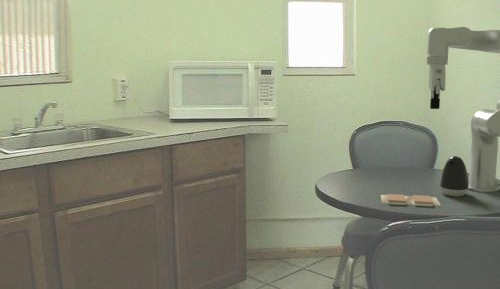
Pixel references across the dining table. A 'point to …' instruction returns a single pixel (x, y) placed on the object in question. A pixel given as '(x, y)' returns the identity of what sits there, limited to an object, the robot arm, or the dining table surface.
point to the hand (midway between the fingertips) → (434, 108)
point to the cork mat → (410, 201)
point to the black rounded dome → (454, 177)
